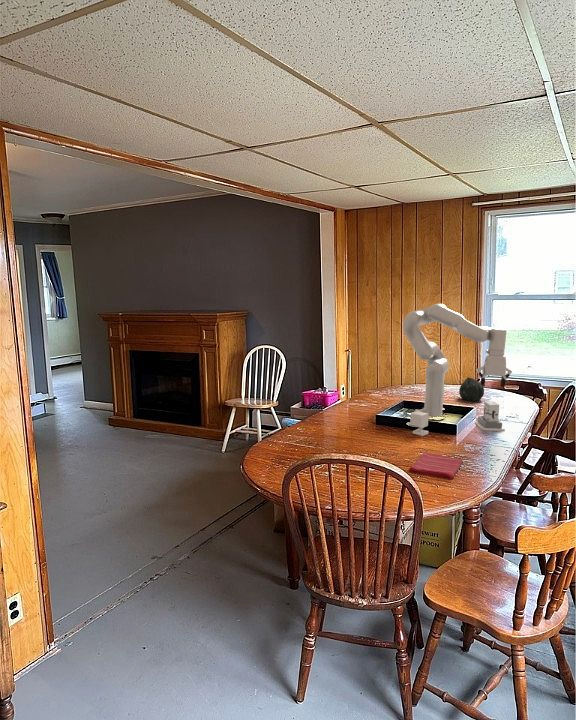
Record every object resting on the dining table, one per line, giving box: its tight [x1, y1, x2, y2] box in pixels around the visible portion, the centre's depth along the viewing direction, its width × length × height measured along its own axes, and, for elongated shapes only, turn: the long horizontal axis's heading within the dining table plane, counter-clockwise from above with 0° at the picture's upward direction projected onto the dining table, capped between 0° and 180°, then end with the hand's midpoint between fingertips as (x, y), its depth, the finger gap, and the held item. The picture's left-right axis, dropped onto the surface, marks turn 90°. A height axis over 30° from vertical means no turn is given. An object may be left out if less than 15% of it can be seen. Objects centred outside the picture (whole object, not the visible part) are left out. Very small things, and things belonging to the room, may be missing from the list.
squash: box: [458, 376, 485, 402], centre depth 334 cm, size 14×15×15 cm
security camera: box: [409, 411, 429, 437], centre depth 260 cm, size 6×7×10 cm
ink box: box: [482, 400, 500, 422], centre depth 274 cm, size 8×5×12 cm, turn 179°
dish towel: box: [408, 451, 463, 481], centre depth 215 cm, size 17×24×3 cm
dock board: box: [474, 415, 506, 432], centre depth 275 cm, size 11×13×4 cm
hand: (492, 386), depth 272 cm, fingers open, 9 cm apart
